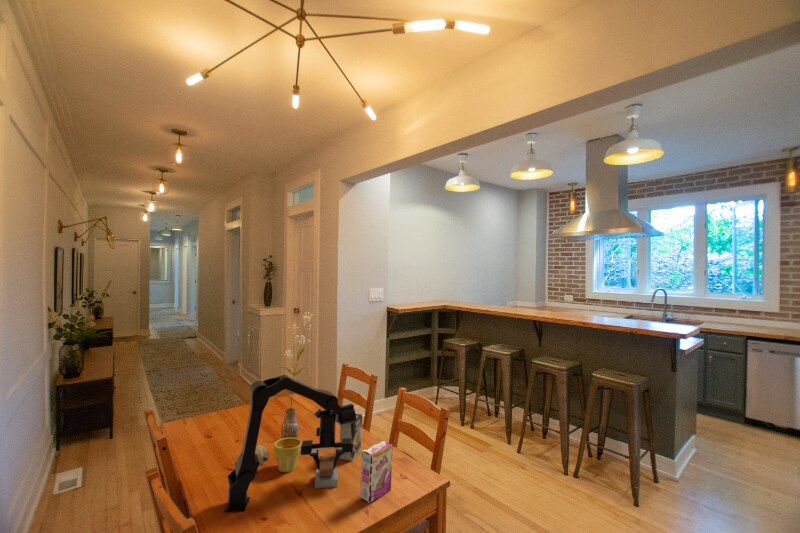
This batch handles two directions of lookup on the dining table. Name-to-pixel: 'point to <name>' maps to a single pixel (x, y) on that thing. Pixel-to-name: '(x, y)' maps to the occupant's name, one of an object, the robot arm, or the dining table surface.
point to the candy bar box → (376, 471)
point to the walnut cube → (326, 465)
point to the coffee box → (352, 437)
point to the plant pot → (287, 453)
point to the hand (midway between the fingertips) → (326, 469)
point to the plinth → (326, 479)
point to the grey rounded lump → (262, 454)
